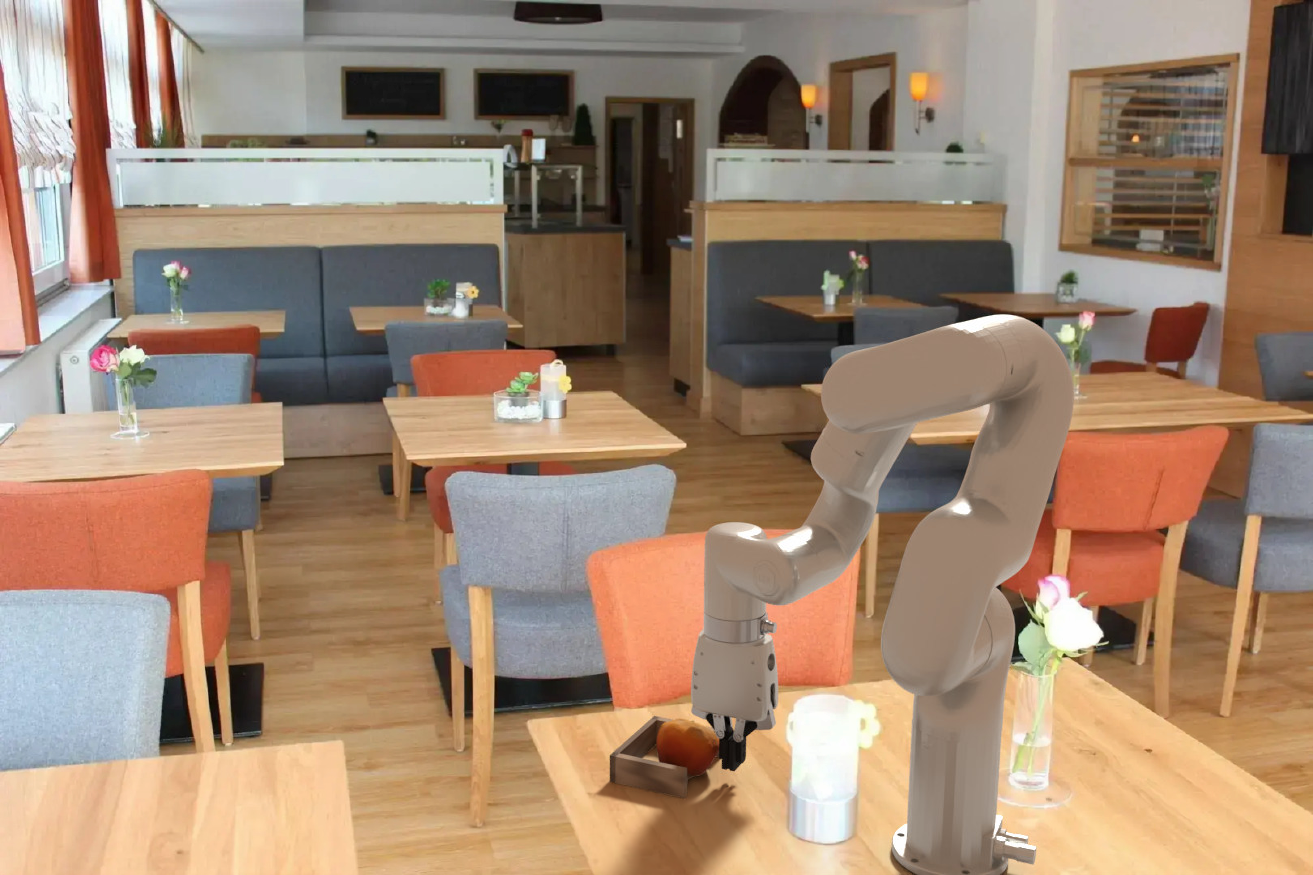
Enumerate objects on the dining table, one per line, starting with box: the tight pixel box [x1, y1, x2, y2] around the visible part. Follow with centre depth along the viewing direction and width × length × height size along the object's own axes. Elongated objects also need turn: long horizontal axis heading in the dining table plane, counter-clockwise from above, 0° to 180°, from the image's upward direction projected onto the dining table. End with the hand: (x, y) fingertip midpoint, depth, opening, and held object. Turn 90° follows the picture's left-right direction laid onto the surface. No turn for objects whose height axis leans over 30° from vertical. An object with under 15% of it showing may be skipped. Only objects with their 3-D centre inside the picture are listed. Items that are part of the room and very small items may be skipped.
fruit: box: [656, 717, 719, 783], centre depth 161 cm, size 8×8×8 cm
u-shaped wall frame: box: [609, 715, 719, 799], centre depth 163 cm, size 10×13×4 cm
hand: (732, 765), depth 159 cm, fingers closed
